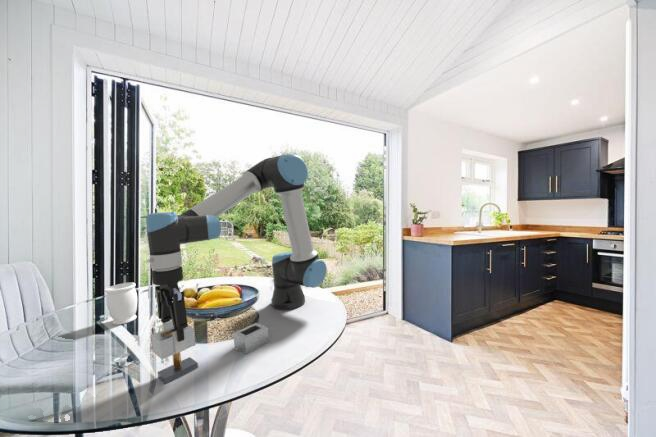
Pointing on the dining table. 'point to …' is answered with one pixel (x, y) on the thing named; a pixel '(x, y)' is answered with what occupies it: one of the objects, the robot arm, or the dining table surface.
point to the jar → (122, 302)
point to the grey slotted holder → (251, 337)
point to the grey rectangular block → (170, 341)
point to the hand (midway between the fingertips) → (175, 347)
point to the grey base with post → (177, 368)
